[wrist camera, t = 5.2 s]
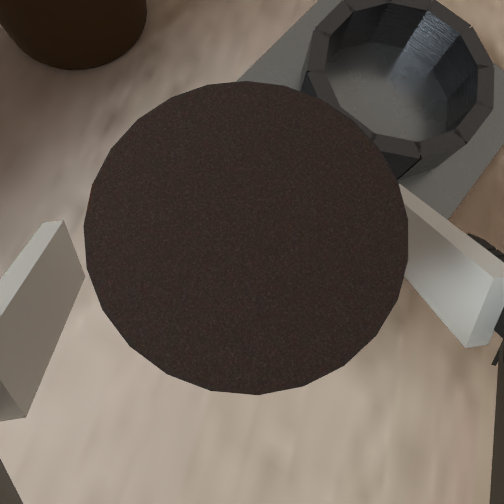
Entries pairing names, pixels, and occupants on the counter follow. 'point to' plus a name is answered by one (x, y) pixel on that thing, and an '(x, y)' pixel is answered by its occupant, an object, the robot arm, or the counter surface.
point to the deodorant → (246, 237)
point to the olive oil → (73, 29)
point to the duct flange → (400, 87)
